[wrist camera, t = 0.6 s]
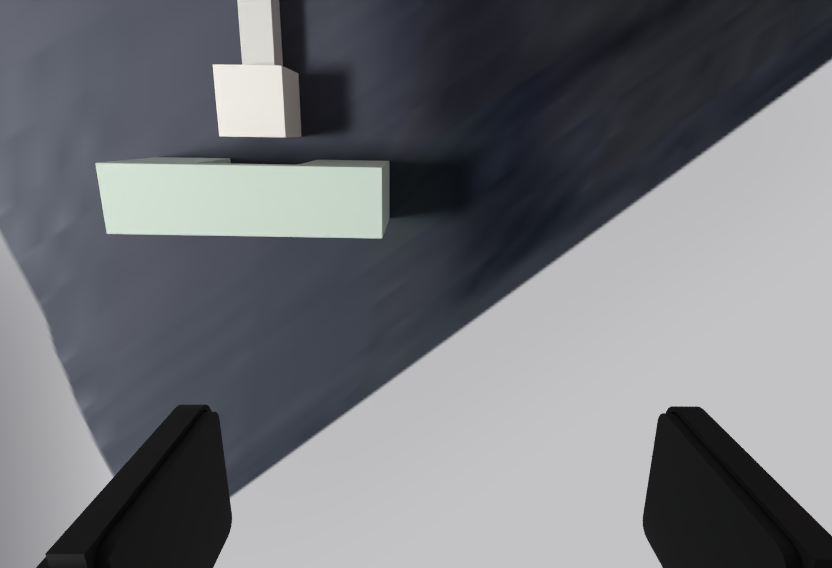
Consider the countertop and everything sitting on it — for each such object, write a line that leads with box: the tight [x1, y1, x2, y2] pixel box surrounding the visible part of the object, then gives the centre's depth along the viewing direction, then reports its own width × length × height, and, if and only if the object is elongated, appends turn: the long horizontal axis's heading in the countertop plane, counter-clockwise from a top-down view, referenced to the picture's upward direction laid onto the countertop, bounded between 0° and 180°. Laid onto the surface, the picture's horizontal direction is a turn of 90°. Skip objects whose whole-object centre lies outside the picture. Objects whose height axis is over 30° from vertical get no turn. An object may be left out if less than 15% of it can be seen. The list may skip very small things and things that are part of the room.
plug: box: [213, 0, 302, 137], centre depth 30 cm, size 14×4×4 cm, turn 179°
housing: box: [95, 157, 389, 238], centre depth 32 cm, size 4×16×7 cm, turn 89°
